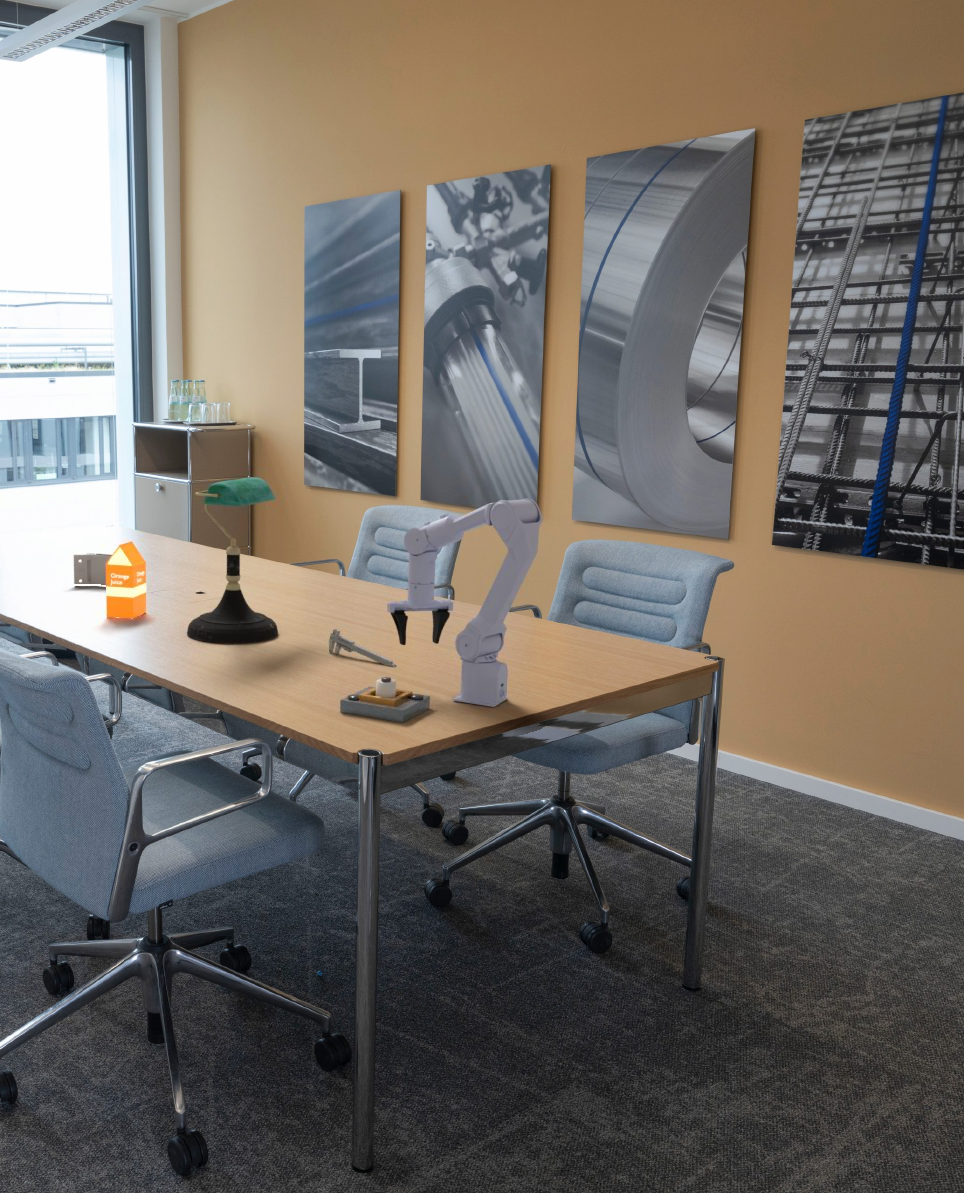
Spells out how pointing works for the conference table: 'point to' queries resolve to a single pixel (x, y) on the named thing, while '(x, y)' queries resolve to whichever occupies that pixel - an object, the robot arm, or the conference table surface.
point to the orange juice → (126, 582)
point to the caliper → (354, 648)
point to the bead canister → (386, 687)
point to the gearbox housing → (385, 705)
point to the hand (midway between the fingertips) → (419, 643)
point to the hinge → (90, 568)
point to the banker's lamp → (234, 574)
